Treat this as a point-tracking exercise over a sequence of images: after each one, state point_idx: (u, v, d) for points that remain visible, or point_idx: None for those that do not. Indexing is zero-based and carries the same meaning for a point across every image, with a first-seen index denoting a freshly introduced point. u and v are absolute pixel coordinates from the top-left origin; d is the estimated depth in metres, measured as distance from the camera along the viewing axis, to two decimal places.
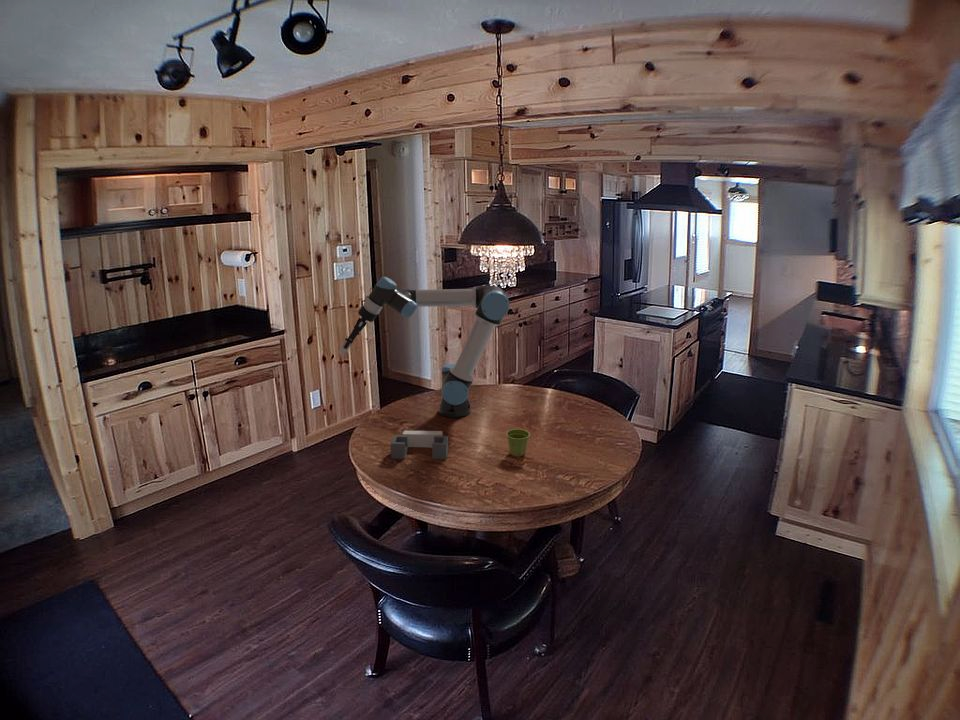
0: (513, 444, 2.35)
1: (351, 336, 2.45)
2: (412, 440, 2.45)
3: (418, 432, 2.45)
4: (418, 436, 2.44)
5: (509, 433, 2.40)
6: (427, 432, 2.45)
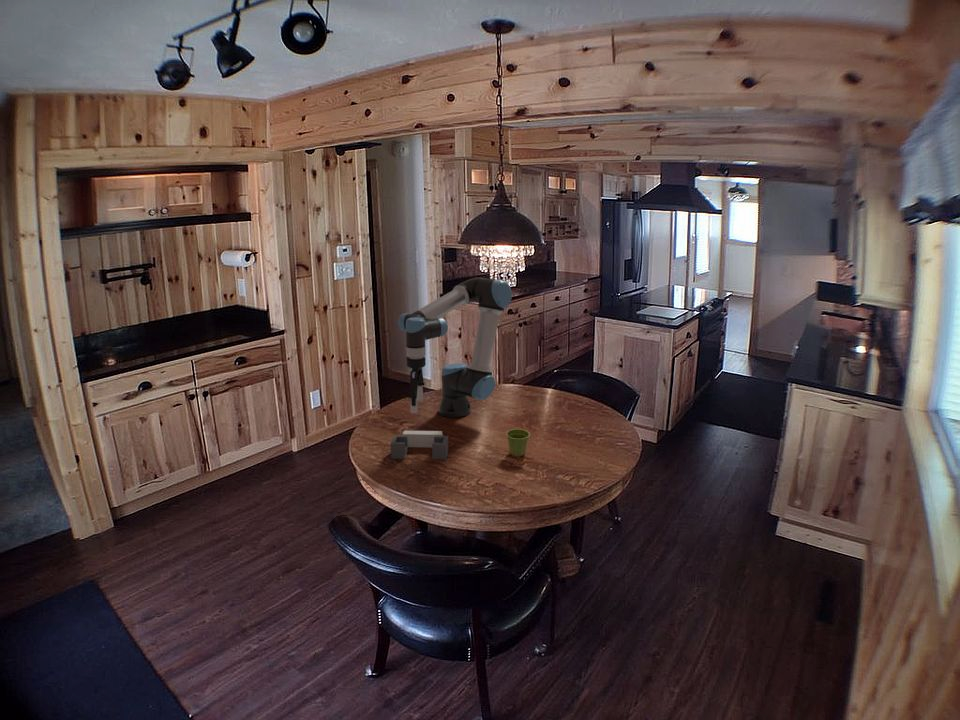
0: (513, 444, 2.35)
1: (411, 391, 2.30)
2: (412, 440, 2.45)
3: (418, 432, 2.45)
4: (418, 436, 2.44)
5: (509, 433, 2.40)
6: (427, 432, 2.45)
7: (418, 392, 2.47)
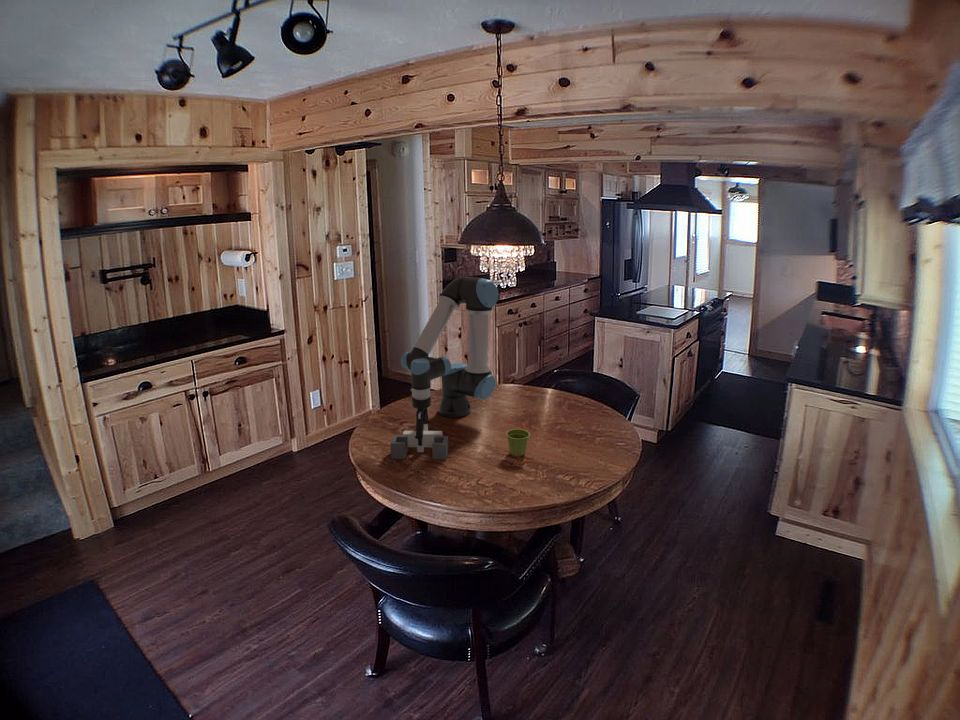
0: (513, 444, 2.35)
1: (418, 432, 2.35)
2: (412, 440, 2.44)
3: None
4: None
5: (509, 433, 2.40)
6: (427, 432, 2.45)
7: (423, 430, 2.52)
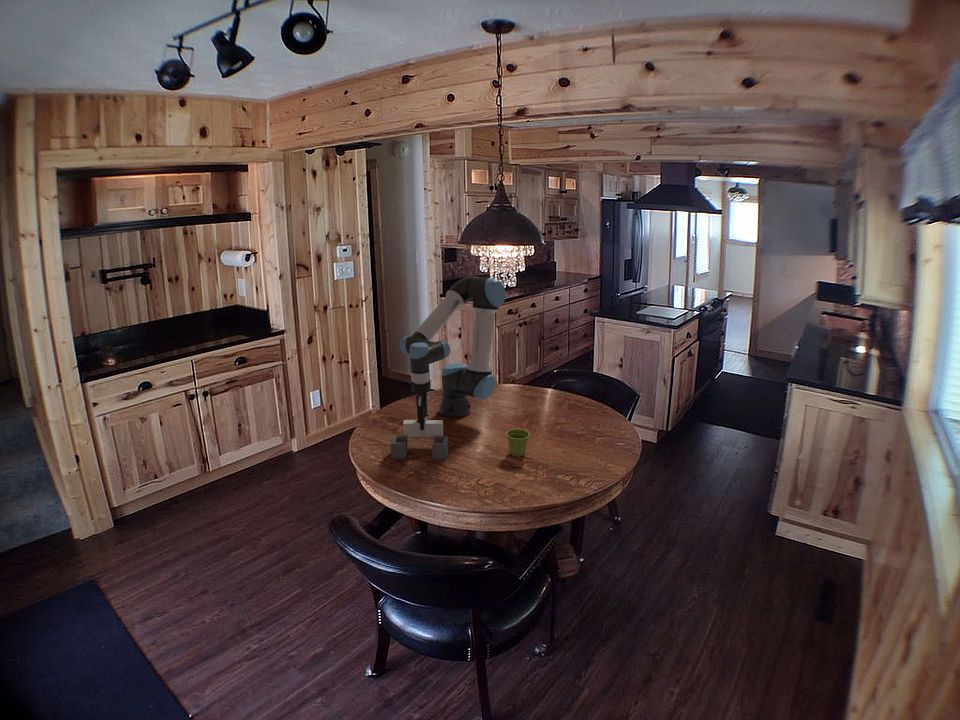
0: (513, 444, 2.35)
1: (419, 418, 2.38)
2: (412, 429, 2.44)
3: None
4: None
5: (509, 433, 2.40)
6: (427, 421, 2.44)
7: None
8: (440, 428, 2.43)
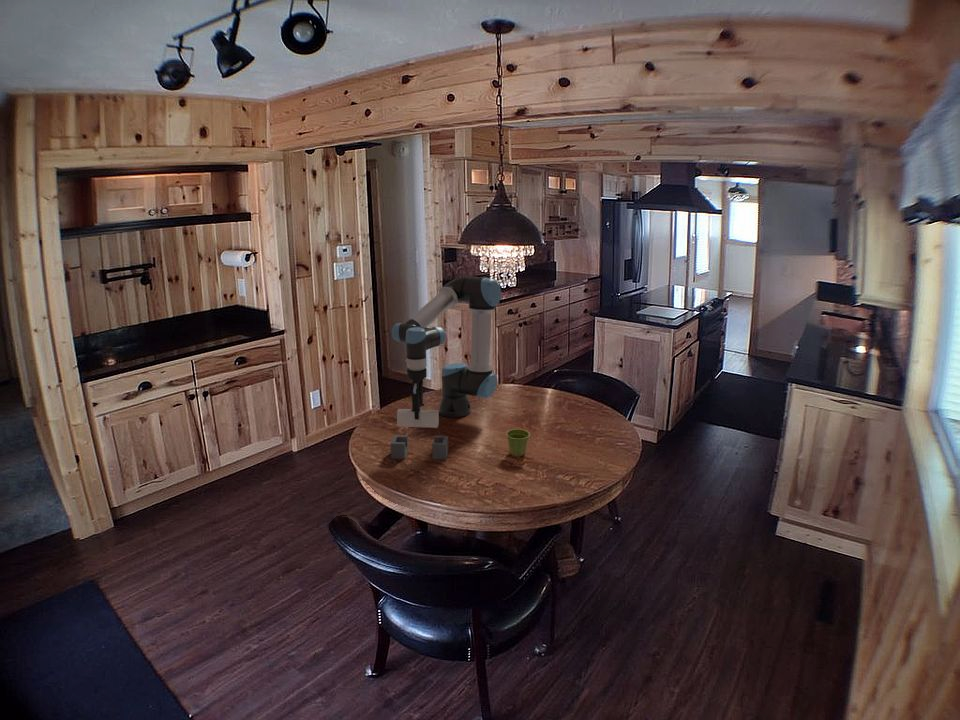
0: (513, 444, 2.35)
1: (414, 406, 2.27)
2: (406, 418, 2.33)
3: None
4: (413, 415, 2.32)
5: (509, 433, 2.40)
6: (422, 411, 2.34)
7: None
8: (435, 417, 2.32)
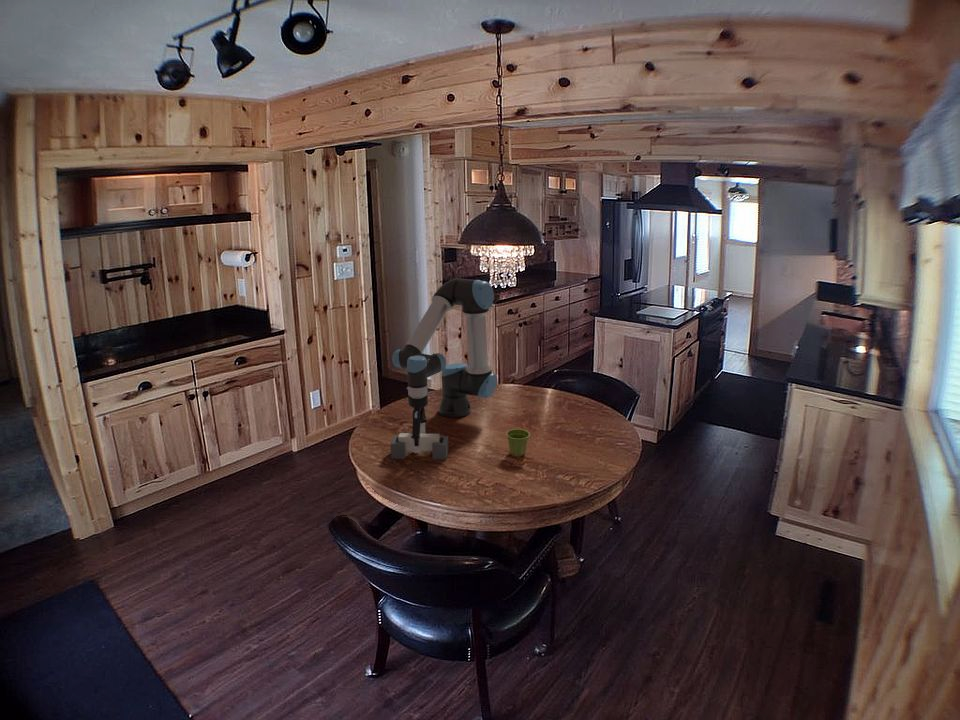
0: (513, 444, 2.35)
1: (414, 432, 2.26)
2: (408, 443, 2.35)
3: None
4: None
5: (509, 433, 2.40)
6: (424, 435, 2.36)
7: (420, 429, 2.43)
8: (436, 441, 2.35)
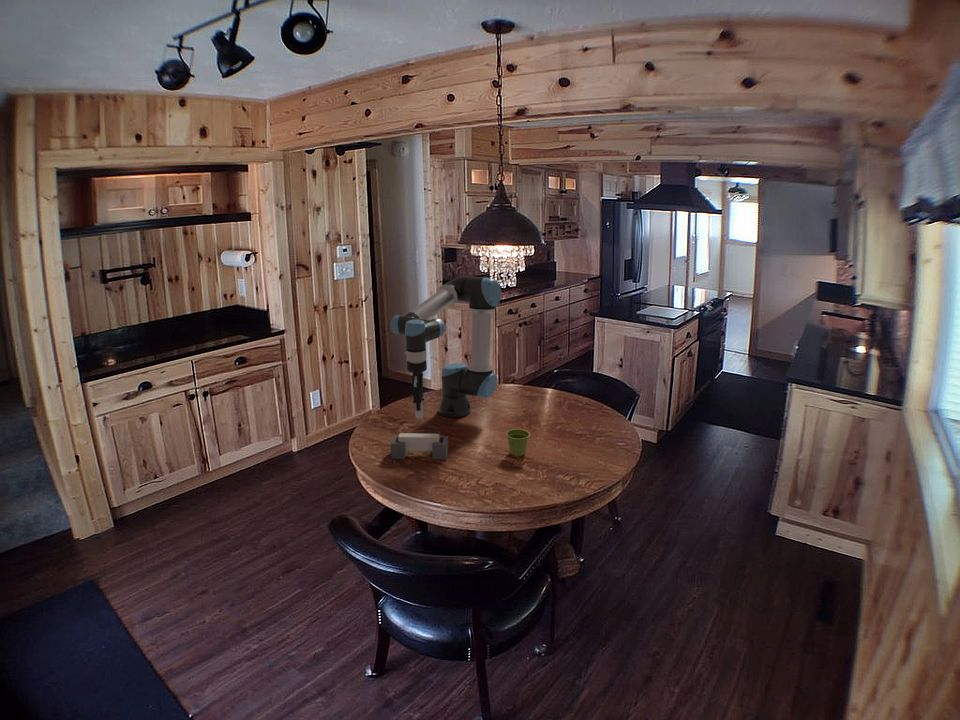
0: (513, 444, 2.35)
1: (415, 398, 2.27)
2: (408, 443, 2.35)
3: (414, 435, 2.36)
4: (415, 439, 2.35)
5: (509, 433, 2.40)
6: (424, 435, 2.36)
7: None
8: (436, 441, 2.35)
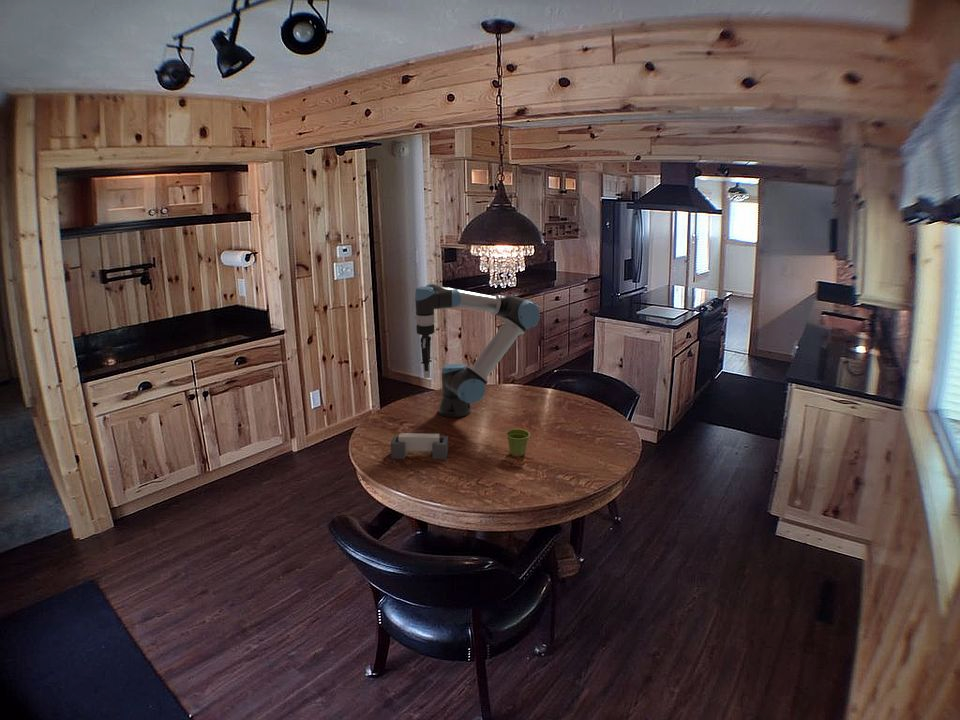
0: (513, 444, 2.35)
1: (424, 359, 2.48)
2: (408, 443, 2.35)
3: (414, 435, 2.36)
4: (415, 439, 2.35)
5: (509, 433, 2.40)
6: (424, 435, 2.36)
7: None
8: (436, 441, 2.35)
